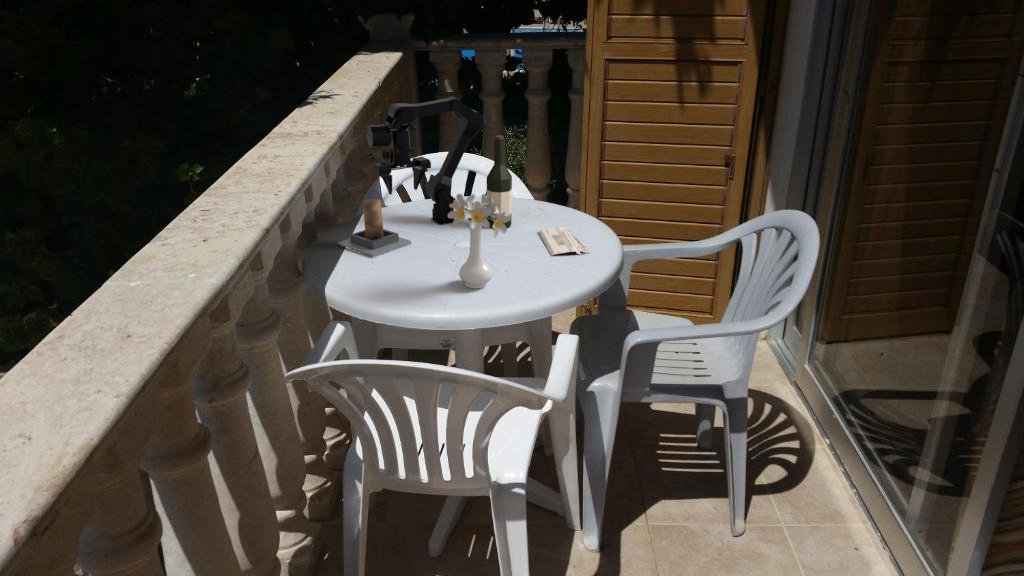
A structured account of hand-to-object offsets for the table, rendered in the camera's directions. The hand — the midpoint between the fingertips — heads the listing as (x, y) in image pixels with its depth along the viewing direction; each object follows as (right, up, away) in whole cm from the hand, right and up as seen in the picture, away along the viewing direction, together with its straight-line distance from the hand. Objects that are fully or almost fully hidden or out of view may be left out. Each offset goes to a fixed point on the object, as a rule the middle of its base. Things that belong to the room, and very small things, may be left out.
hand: (403, 191), depth 264 cm
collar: (-7, -18, -11) cm, 22 cm away
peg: (-7, -17, -12) cm, 22 cm away
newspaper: (+52, -18, -7) cm, 55 cm away
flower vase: (+26, -30, -40) cm, 57 cm away
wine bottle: (+31, -10, +8) cm, 34 cm away
